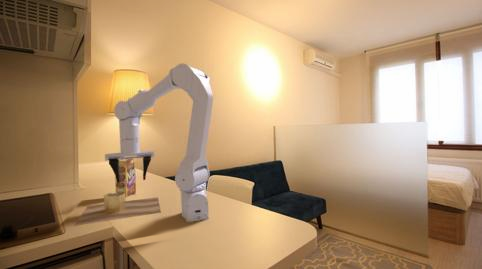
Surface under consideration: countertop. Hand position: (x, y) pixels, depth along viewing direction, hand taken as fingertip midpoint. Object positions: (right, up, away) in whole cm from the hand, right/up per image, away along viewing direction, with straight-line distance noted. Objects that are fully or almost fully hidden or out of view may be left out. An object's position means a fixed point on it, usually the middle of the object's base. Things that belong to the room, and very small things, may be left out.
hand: (131, 180), depth 78 cm
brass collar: (-4, -9, -3) cm, 10 cm away
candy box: (-8, -10, +14) cm, 19 cm away
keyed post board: (-2, -10, -3) cm, 10 cm away
